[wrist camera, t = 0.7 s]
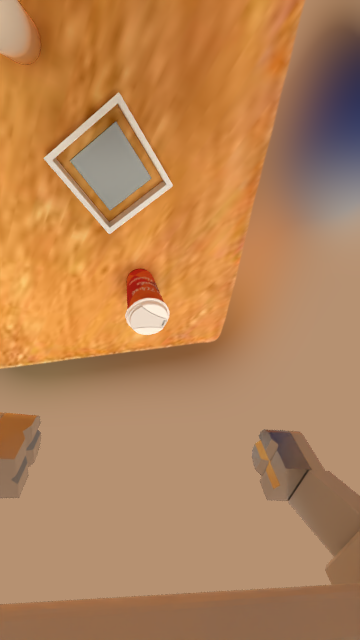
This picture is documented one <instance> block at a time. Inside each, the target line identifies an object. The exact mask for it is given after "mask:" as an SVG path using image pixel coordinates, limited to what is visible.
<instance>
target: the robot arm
mask: <svg viewBox="0 0 360 640" xmlns="http://www.w3.org/2000/svg"><path fill="white" fill-rule="evenodd" d="M39 425H40V416H36V415H25V414H13V413H0V498H19V497H20V494H21V492H22V490H23V487H24V485H25V483H26V480H27V478H28V467H29V466H30V465H31V464H33V463H34V461H35V459H36V456H37V454H38V450H39V446H40V441H41V432H40V431H39V430H38V427H39ZM259 438H260V441H259V442H257V443H256V444H255V445H254V447H253V450H252V452H253V453H252V459H253V464H254V467H255V469H256V471H257V472H258V473H259V474H260V475H261V479H260V483H261V486H262V488H263V491H264V494H265V496H266V499H267V500H277V501H288V503H289V504H290V505H291V506H292V508H293V509H294V510H295V511H296V512H297V514H298V515H299V516H300V517H301V518H302V519H303V521H304V522H305V523H306V524H307V525H308V527H309V528H310V529H311V530H312V531H313V532H314V534H315V535H316V536H317V537H318V538H319V540H320V541H321V542H322V543H323V544H324V545H325V547H326V548H327V549H328V550H329V551H330V552H331V554H332V555H333V556H334V558H333V559H332V560H331V561H330V562H329V563H328V564H327V565H326V569H325V571H326V573H327V575H328V577H329V580H330V582H331V584H332V585H318V586H302V587H286V588H270V589H269V588H267V589H250V590H234V591H217V592H200V593H183V594H165V595H148V596H132V597H116V598H98V599H80V600H65V601H48V602H31V603H14V604H0V640H360V496H359V495H358V494H356V492H354V491H353V490H352V489H351V488H349V487H348V486H347V485H346V484H344V483H343V482H342V481H341V480H339V479H338V478H337V477H336V476H335V475H333V474H332V473H331V472H330V471H325V469H324V468H323V466H322V464H321V463H320V462H319V460H318V458H317V456H316V455H315V453H314V452H313V450H312V448H311V447H310V445H309V444H308V442H307V440H306V439H305V437H304V435H303V434H302V433H300V432H297V431H283V430H263V431H262V432H261V433H260V435H259Z"/></svg>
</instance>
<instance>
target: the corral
mask: <svg viewBox="0 0 360 640" xmlns="http://www.w3.org/2000/svg"><path fill="white" fill-rule="evenodd" d="M116 104H118V106H119V107H120V109H121V111H122V112H123V114H124V116H125V117H126V119H127V121H128V122H129V124H130V126H131V127H132V129H133V131H134V132H135V134H136V136H137V137H138V139H139V141H140V142H141V144H142V146H143V147H144V149H145V151H146V152H147V154H148V156H149V158H150V159H151V161H152V163H153V164H154V166H155V168H156V169H157V171H158V173H159V174H160V176H161V178H162V179H163V181H162V182H161V183H160V184H158V185H157V186H156V187H154V188H153V189H152V190H150V191H149V192H148V193H147V194H145V195H144V196H143V197H141V198H140V199H139V200H137V201H136V202H135V203H134V204H132V205H131V206H130V207H128V208H127V209H126V210H124V211H123V212H122V213H121V214H119V215H118V216H117V217H115V218H114V219H113V220H111V221H110V222H109V221H108V220H107V219H106V218H105V217H104V215H103V214H102V213H101V212H100V211H99V209H98V208H97V207H96V206H95V205H94V203H93V202H92V201H91V200H90V199H89V197H88V196H87V195H86V194H85V193H84V191H83V190H82V189H81V188H80V187H79V185H78V184H77V183H76V182H75V181H74V179H73V178H72V177H71V176H70V175H69V173H68V172H67V171H66V170H65V169H64V167H63V166H62V165H61V164H60V163H59V161H58V160H57V159H56V158H55V157H56V156H58V155H59V154H60V153H61V152H62V151H63V150H65V149H66V148H67V147H68V146H69V145H70V144H71V143H73V142H74V141H75V140H76V139H77V138H78V137H80V136H81V135H82V134H83V133H84V132H85V131H86V130H88V129H89V128H90V127H91V126H92V125H93V124H94V123H96V122H97V121H98V120H99V119H100V118H101V117H103V116H104V115H105V114H106V113H107V112H108V111H109V110H111V109H112V108H113V107H114V106H115V105H116ZM44 160H45V161H46V162H47V163H48V164H49V165H50V166H51V168H52V169H53V170H54V171H55V172H56V173H57V175H58V176H59V177H60V178H61V179H62V180H63V182H64V183H65V184H66V185H67V186H68V187H69V188H70V190H71V191H72V192H73V193H74V194H75V195H76V197H77V198H78V199H79V200H80V201H81V202H82V204H83V205H84V206H85V207H86V208H87V209H88V210H89V212H90V213H91V214H92V215H93V216H94V217H95V219H96V220H97V221H98V222H99V223H100V224H101V226H102V227H103V228H104V229H105V230H106V231H107V232H108V234H110V233H112V232H113V231H114V230H116V229H117V228H118V227H120V226H121V225H122V224H124V223H125V222H126V221H128V220H129V219H130V218H131V217H133V216H134V215H135V214H137V213H138V212H139V211H141V210H142V209H143V208H145V207H146V206H147V205H149V204H150V203H151V202H153V201H154V200H155V199H157V198H158V197H159V196H160V195H162V194H163V193H164V192H166V191H167V190H168V189H170V188H171V187H172V186H173V185H172V183H171V181H170V179H169V178H168V176H167V174H166V172H165V171H164V169H163V167H162V166H161V164H160V162H159V160H158V159H157V157H156V155H155V153H154V152H153V150H152V148H151V147H150V145H149V143H148V141H147V140H146V138H145V136H144V134H143V133H142V131H141V129H140V128H139V126H138V124H137V122H136V121H135V119H134V117H133V115H132V114H131V112H130V110H129V109H128V107H127V105H126V103H125V102H124V100H123V98H122V96H121V95H120V93H119V92H118V93H117V94H116V95H115V96H114V97H113V98H112V99H110V100H109V101H108V102H107V103H106V104H105V105H104V106H102V107H101V108H100V109H99V110H98V111H97V112H96V113H94V114H93V115H92V116H91V117H90V118H89V119H88V120H86V121H85V122H84V123H83V124H82V125H81V126H80V127H79V128H77V129H76V130H75V131H74V132H73V133H72V134H71V135H69V136H68V137H67V138H66V139H65V140H64V141H63V142H61V143H60V144H59V145H58V146H57V147H56V148H55V149H53V150H52V151H51V152H50V153H49V154H48V155H47V156H45V157H44ZM70 161H71V163H72V164H73V165H74V166H75V168H76V169H77V170H78V171H79V173H80V174H81V175H82V176H83V178H84V179H85V180H86V181H87V183H88V184H89V185H90V186H91V188H92V189H93V190H94V191H95V193H96V194H97V195H98V196H99V198H100V199H101V200H102V201H103V203H104V204H105V205H106V206H107V208H108V209H109V210H112V209H113V208H114V207H115V206H117V205H118V204H119V203H121V202H122V201H123V200H124V199H126V198H127V197H128V196H129V195H131V194H132V193H133V192H135V191H136V190H137V189H138V188H140V187H141V186H142V185H144V184H145V183H146V182H147V181H149V180H150V179H151V177H150V175H149V174H148V172H147V170H146V169H145V167H144V166H143V164H142V162H141V161H140V159H139V158H138V156H137V154H136V153H135V151H134V150H133V148H132V146H131V145H130V143H129V142H128V140H127V138H126V137H125V135H124V134H123V132H122V130H121V129H120V127H119V126H118V124H117V122H115V123H114V124H112V125H111V126H110V127H109V128H108V129H106V130H105V131H104V132H103V133H102V134H101V135H99V136H98V137H97V138H96V139H95V140H94V141H92V142H91V143H90V144H89V145H88V146H87V147H85V148H84V149H83V150H82V151H81V152H80V153H78V154H77V155H76V156H75V157H74V158H73V159H71V160H70Z"/></svg>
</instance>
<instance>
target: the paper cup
mask: <svg viewBox="0 0 360 640" xmlns="http://www.w3.org/2000/svg"><path fill="white" fill-rule="evenodd" d="M127 304H128V309H127V311H126V316H125V317H126V320H127V323H128V324H129V326H130V327H131V328H132V329H133V330H134V331H135V332H137V333H139V334H143V335H151V334H155V333H157V332H159V331H161V330H162V329H163V328H164V326H165V324H166V322H167V321H168V318H169V309H168V307H167V305H166V304H165V303H164V301H163V299H162V297H161V295H160V292H159V290H158V288H157V285H156V283H155V281H154V279H153V277H152V275H151V274H150V272H148V271H147V270H144V269H136V270H134V271H132V272H131V273H130V274H129V275H128V278H127Z"/></svg>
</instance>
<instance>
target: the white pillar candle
mask: <svg viewBox="0 0 360 640" xmlns="http://www.w3.org/2000/svg"><path fill="white" fill-rule="evenodd" d="M40 49H41V42H40V36H39V33H38V30H37V28H36V26H35V24H34V22H33V20H32V19H31V18H30V16H29V15H28V14H27V12H26V11H25V10H24V8H23V7H22V6H21V4H20V3H19V2H18V1H17V0H0V53H1V54H2V55H4V56H6V57H8V58H10V59H11V60H13V61H15V62H17V63H19V64H23V65H28V64H32V63H33V62H35V61H36V60H37V58H38V57H39V54H40Z"/></svg>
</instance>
